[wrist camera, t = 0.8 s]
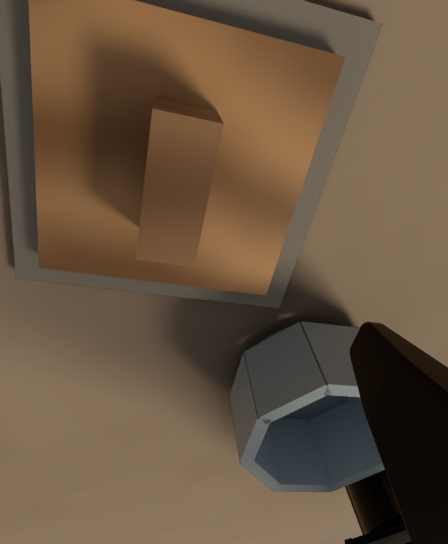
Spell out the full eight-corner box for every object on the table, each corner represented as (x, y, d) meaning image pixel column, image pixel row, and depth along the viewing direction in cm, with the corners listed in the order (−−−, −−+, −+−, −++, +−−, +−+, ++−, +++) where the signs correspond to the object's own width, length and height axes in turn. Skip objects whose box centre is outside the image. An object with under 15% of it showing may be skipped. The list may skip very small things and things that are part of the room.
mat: (277, 302, 24) (279, 308, 23) (19, 272, 21) (15, 278, 20) (376, 24, 16) (382, 23, 16) (-6, -88, 13) (-13, -93, 13)
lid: (262, 285, 22) (277, 330, 19) (45, 257, 20) (17, 303, 16) (336, 55, 16) (379, 61, 13) (36, -25, 14) (-10, -44, 10)
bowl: (339, 417, 31) (370, 492, 26) (219, 410, 29) (228, 490, 24) (392, 322, 26) (445, 392, 21) (252, 306, 24) (272, 379, 19)
